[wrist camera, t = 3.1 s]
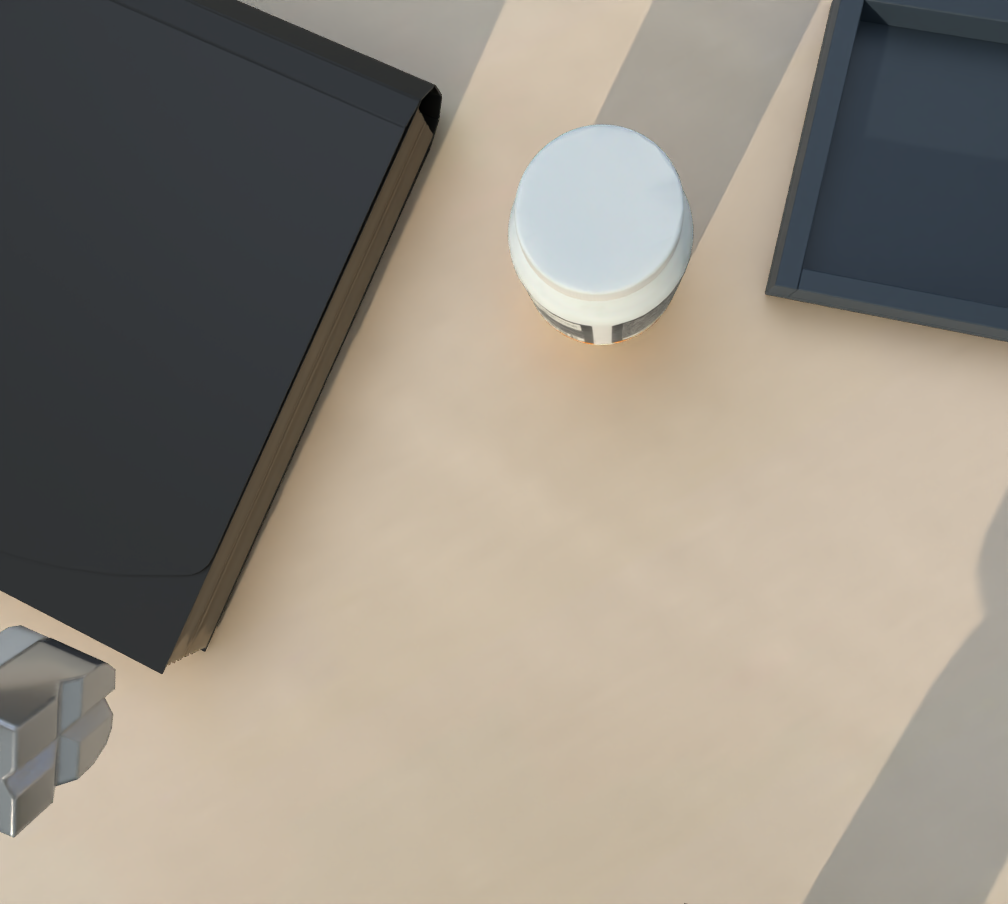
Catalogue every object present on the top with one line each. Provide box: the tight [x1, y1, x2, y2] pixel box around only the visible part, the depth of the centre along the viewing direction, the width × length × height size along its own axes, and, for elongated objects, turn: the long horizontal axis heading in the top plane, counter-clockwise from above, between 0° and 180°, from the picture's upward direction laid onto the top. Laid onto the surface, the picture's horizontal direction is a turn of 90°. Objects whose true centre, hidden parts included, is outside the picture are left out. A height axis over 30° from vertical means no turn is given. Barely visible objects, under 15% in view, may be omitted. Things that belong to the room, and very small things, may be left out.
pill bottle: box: [508, 125, 693, 345], centre depth 28 cm, size 6×6×10 cm
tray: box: [765, 0, 1008, 342], centre depth 31 cm, size 13×11×2 cm
